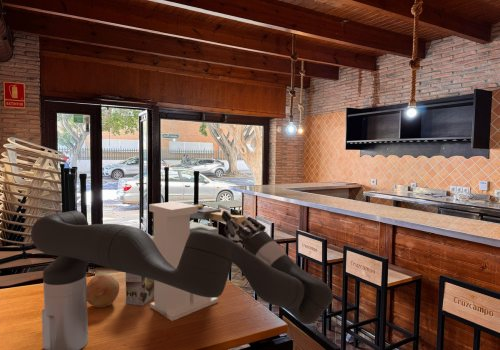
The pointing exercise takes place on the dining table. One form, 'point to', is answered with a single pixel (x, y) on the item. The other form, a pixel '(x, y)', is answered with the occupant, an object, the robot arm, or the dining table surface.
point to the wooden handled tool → (214, 214)
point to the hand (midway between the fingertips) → (228, 212)
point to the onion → (102, 290)
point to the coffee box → (138, 289)
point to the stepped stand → (175, 257)
